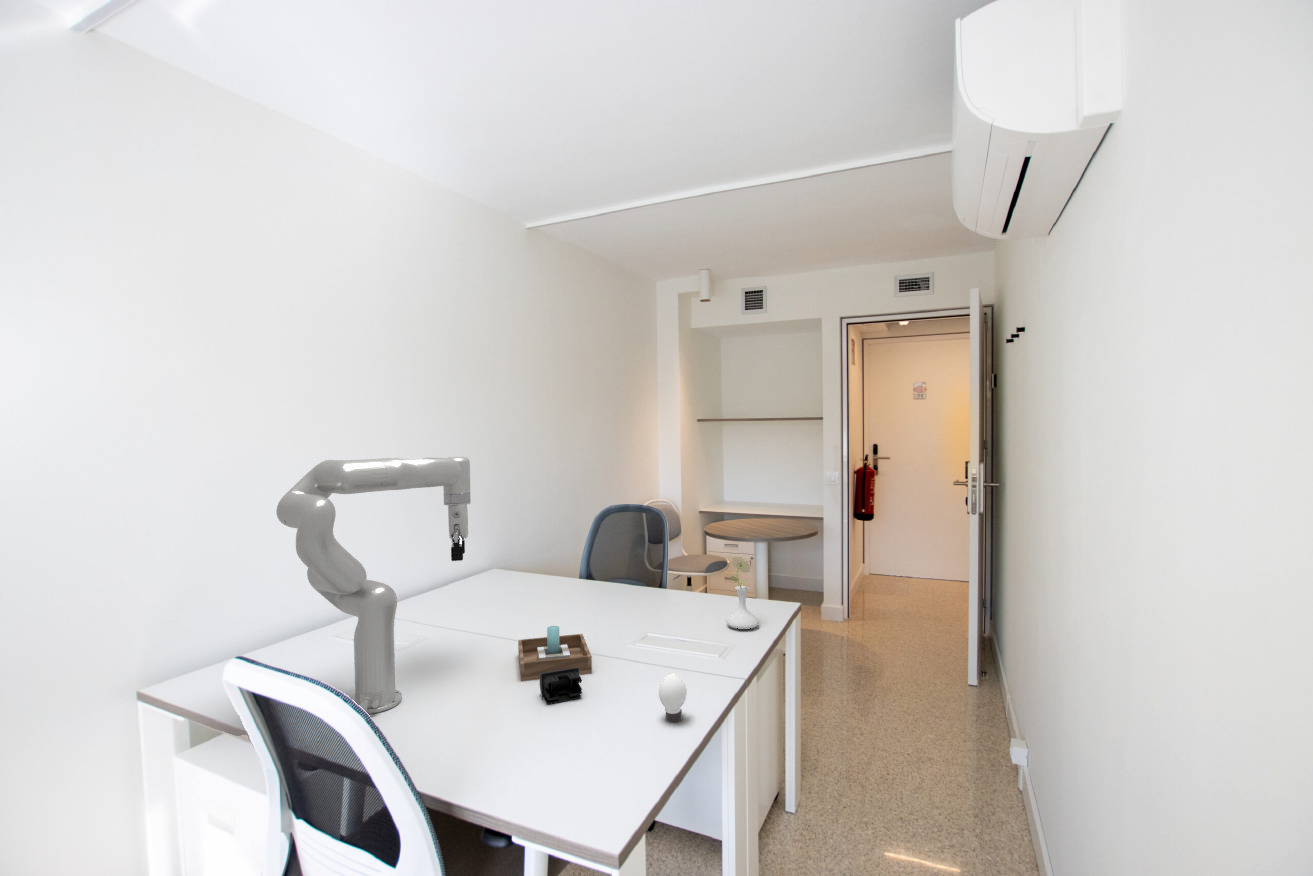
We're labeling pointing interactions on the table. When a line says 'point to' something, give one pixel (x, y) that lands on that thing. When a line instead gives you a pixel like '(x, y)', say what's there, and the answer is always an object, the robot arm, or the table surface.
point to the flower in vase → (741, 599)
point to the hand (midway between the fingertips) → (458, 557)
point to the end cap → (560, 686)
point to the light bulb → (672, 696)
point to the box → (553, 656)
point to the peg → (553, 640)
